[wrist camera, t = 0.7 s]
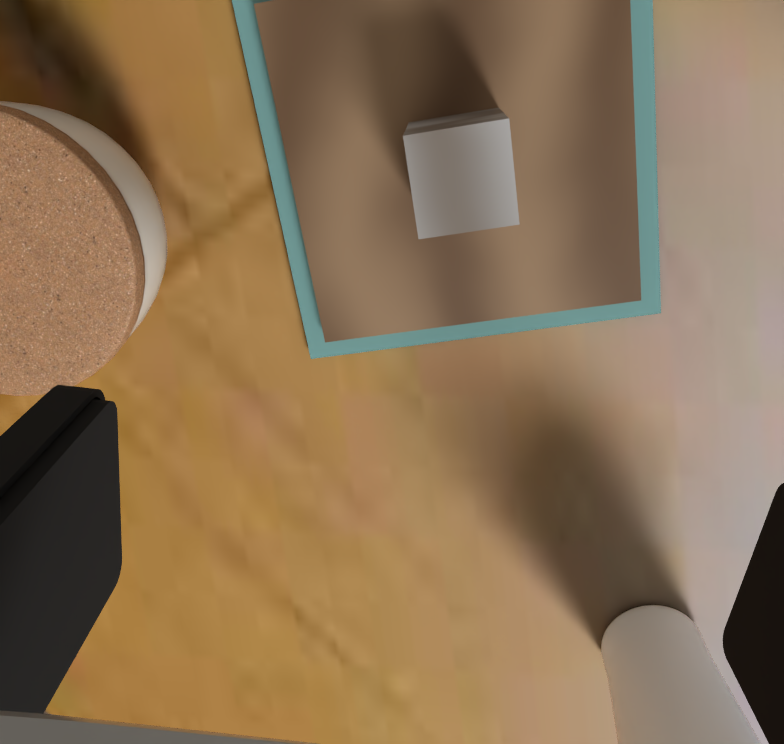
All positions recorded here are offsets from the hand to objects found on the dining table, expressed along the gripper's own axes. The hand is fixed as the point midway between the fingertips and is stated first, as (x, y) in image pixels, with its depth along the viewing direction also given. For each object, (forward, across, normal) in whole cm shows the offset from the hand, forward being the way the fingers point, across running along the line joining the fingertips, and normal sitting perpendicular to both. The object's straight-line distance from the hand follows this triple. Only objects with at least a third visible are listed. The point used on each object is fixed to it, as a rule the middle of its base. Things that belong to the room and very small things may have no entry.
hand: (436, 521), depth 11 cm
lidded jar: (+25, +15, +3) cm, 29 cm away
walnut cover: (+23, -1, -2) cm, 24 cm away
